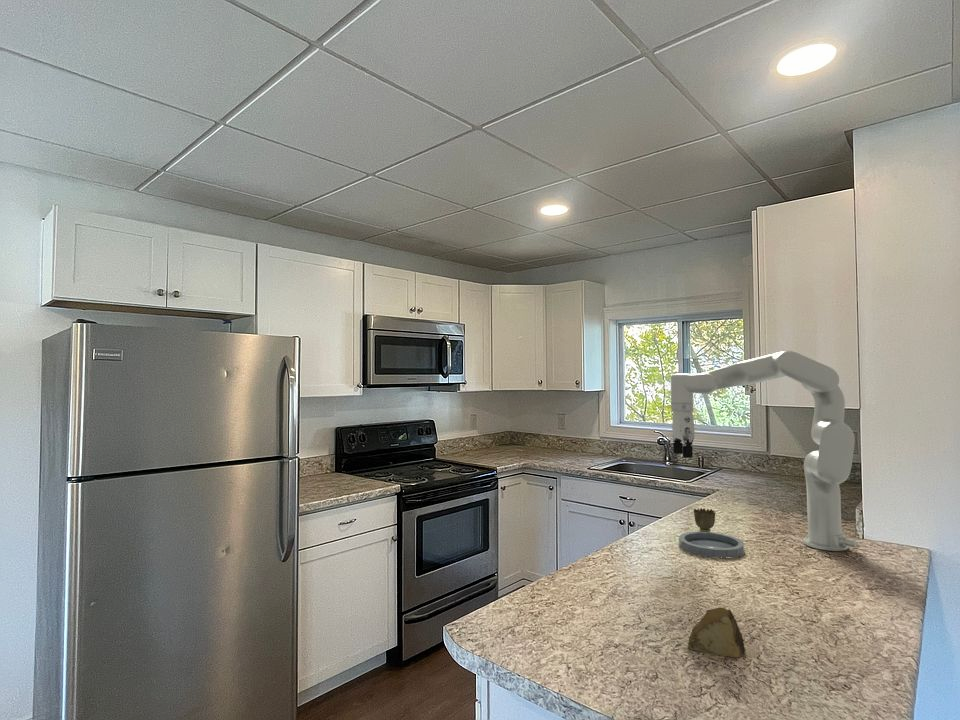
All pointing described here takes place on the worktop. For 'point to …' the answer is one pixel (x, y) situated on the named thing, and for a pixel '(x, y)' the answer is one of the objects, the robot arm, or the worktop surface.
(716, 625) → the rock
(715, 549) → the round dish
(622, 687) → the worktop surface
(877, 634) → the worktop surface
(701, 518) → the cup
